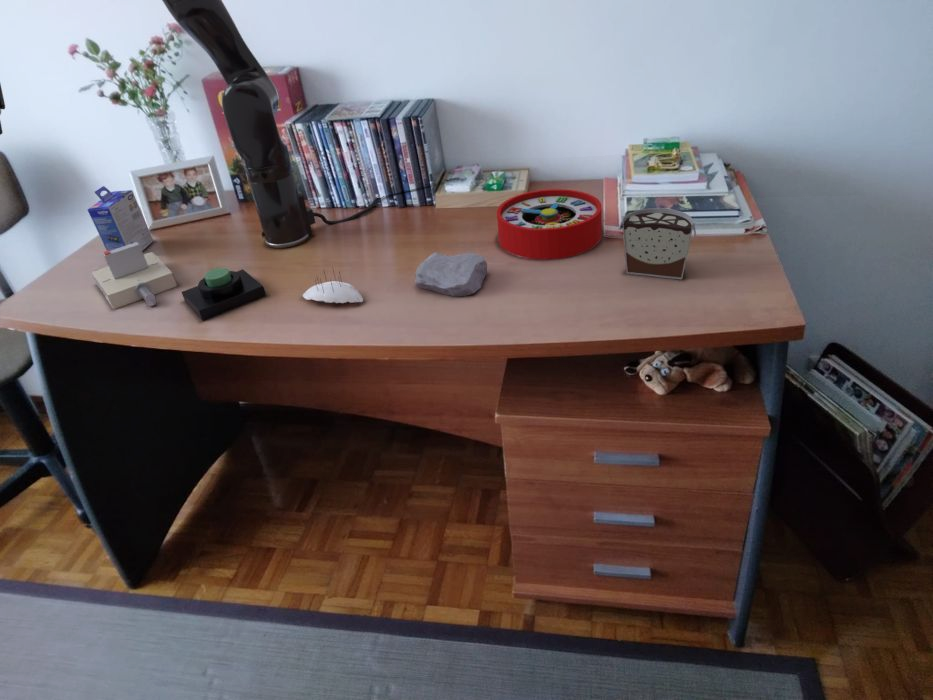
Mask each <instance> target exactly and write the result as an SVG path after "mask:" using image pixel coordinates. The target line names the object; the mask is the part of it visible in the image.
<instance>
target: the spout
mask: <svg viewBox="0 0 933 700" xmlns="http://www.w3.org/2000/svg"><path fill="white" fill-rule="evenodd" d="M151 291H152V289H151V287H150V285H149V284H147V283H144V282H142V283H139V284H137V285H136V287H135V292H136V294H137V295H138V296H139V297H143V300H144V301H145V302H146V303H147V305H148V307H153V306H156V304H157V301H156V295H155V294H153V293H152V292H151Z"/></svg>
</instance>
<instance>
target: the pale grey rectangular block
mask: <svg viewBox="0 0 933 700" xmlns="http://www.w3.org/2000/svg"><path fill="white" fill-rule="evenodd" d="M102 256H103V258H104V260H105V263H106V265H107V267H109V269H110V272H111V274H112V276H113V278H114V279H117V278H120V277H123V276H126V275H129V274H132V273H134V272H137V271H140V270H143V269H146V268H149V267H148V264H147V262H146V259H145V257H144V253H143V251H142V250H141V247H140V245H139V244H138V243H137V242H135V243H132V244H129V245H126V246H123V247H120V248H117V249H114V250H111V251H109V250H104V251H103V252H102Z"/></svg>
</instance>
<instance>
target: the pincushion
mask: <svg viewBox="0 0 933 700" xmlns="http://www.w3.org/2000/svg"><path fill="white" fill-rule="evenodd" d="M332 268H334V266H332ZM332 270H333V271H332V272H335V271H334V269H332ZM340 272H341V271H338V273H339V276H338V278H337V279H342V277H341V273H340ZM323 274H324V277H325V280H326V281H325V282H319V281H322V279H321V278H318V276H317V275H318V274H317V275H316V279H317V280H316V279H315V280H314V282H317V283H318V284H317V283H315V284H314V285H313V286H311V287H309V288H308V289H306V291H305V292H304V293H302V295H301V296H302V298H304V299H305V300H306V301H308V300H309V301H311V300H312V301H315V302H320V304H322V303H323V302H324V303H325V304H326V305H327V304H329V303H331V304H332V303H335V305H337V304H339V303H340V304H344V303H345V304H347V302H349V303H351V304H353V303H362V302H364V298H363V296H362V295H361V293H360V292H359V291H358V290H357V288H355V286H353V285H352V284H350V283H347V282H343V281H342V280H338V281H337V279H336V277H334V279H335V281H334V280H333V281H332V280H331V279H329V280H330V281H328V280H327V277H326V273H325V269H323ZM333 275H334V276H336V275H335V273H333ZM319 279H320V280H319Z"/></svg>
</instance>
